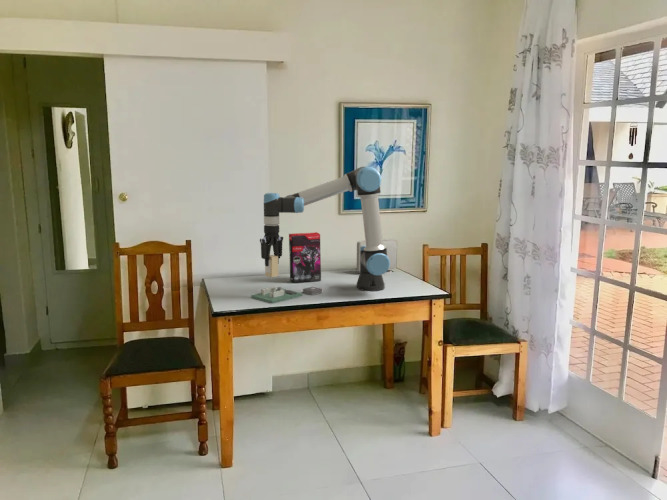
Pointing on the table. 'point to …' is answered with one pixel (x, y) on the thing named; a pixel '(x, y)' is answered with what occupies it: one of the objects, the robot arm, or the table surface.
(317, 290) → the fan block
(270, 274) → the plug
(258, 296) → the board
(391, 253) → the network device
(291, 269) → the graphics card box
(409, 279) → the table surface
